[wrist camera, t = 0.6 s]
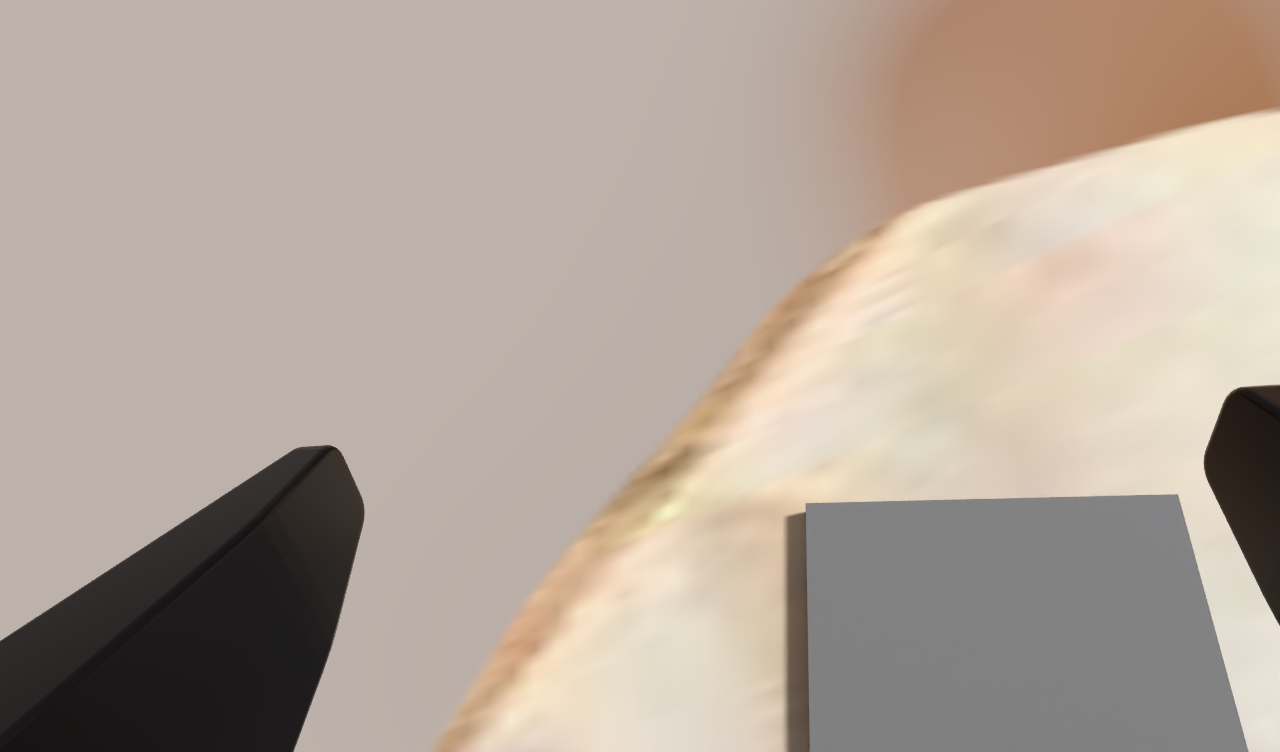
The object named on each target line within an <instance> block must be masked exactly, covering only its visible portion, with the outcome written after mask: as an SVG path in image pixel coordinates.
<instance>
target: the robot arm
mask: <svg viewBox="0 0 1280 752" xmlns="http://www.w3.org/2000/svg"><path fill="white" fill-rule="evenodd" d="M1204 470H1205V474H1206V477H1207V480H1208V482H1209V485H1210V487H1211V489H1212V491H1213V493H1214V495H1215V497H1216V499H1217V501H1218V503H1219V505H1220V507H1221V509H1222V511H1223V513H1224V515H1225V517H1226V519H1227V522H1228V524H1229V526H1230V528H1231V530H1232V532H1233V534H1234V536H1235V538H1236V540H1237V542H1238V544H1239V546H1240V548H1241V550H1242V552H1243V554H1244V557H1245V559H1246V561H1247V563H1248V565H1249V567H1250V569H1251V571H1252V573H1253V575H1254V577H1255V579H1256V581H1257V583H1258V585H1259V587H1260V589H1261V592H1262V594H1263V596H1264V597H1265V599H1266V601H1267V603H1268V605H1269V607H1270V609H1271V611H1272V612H1273V614H1274V616H1275V618H1276V620H1277V622H1278V623H1279V625H1280V385H1264V386H1249V387H1240V388H1237V389H1235V390H1233V391H1232V392H1231V393H1230V394H1229V395H1228V396H1227V397H1226V399H1225V401H1224V403H1223V406H1222V408H1221V411H1220V414H1219V416H1218V419H1217V422H1216V424H1215V427H1214V430H1213V432H1212V435H1211V438H1210V440H1209V443H1208V446H1207V448H1206V451H1205V455H1204ZM363 522H364V504H363V500H362V497H361V495H360V492H359V490H358V488H357V486H356V484H355V481H354V479H353V477H352V475H351V472H350V470H349V468H348V466H347V464H346V462H345V460H344V457H343V456H342V453H341V452H340V451H339V450H338V449H337V448H336V447H333V446H329V445H325V446H309V447H300V448H296V449H294V450H292V451H291V452H289V453H288V454H286V455H285V456H283V457H282V458H280V459H279V460H277V461H275V462H274V463H272V464H271V465H269V466H268V467H266V468H265V469H263V470H262V471H260V472H259V473H257V474H255V475H254V476H252V477H251V478H249V479H248V480H246V481H245V482H243V483H242V484H240V485H239V486H237V487H236V488H234V489H232V490H231V491H230V492H228V493H227V494H225V495H223V496H222V497H220V498H219V499H217V500H216V501H214V502H213V503H211V504H210V505H208V506H207V507H205V508H204V509H202V510H200V511H199V512H197V513H196V514H194V515H193V516H191V517H190V518H188V519H187V520H185V521H184V522H182V523H181V524H179V525H177V526H176V527H174V528H173V529H171V530H170V531H168V532H167V533H165V534H164V535H162V536H160V537H159V538H158V539H156V540H154V541H153V542H151V543H150V544H148V545H147V546H145V547H144V548H142V549H141V550H139V551H138V552H136V553H134V554H133V555H131V556H130V557H128V558H127V559H125V560H124V561H122V562H121V563H119V564H118V565H116V566H114V567H113V568H111V569H110V570H108V571H107V572H105V573H104V574H102V575H101V576H99V577H98V578H96V579H95V580H93V581H91V582H90V583H88V584H87V585H85V586H84V587H82V588H81V589H79V590H78V591H76V592H75V593H73V594H72V595H70V596H69V597H67V598H66V599H64V600H62V601H61V602H59V603H58V604H56V605H55V606H53V607H52V608H50V609H49V610H47V611H46V612H44V613H43V614H41V615H39V616H38V617H36V618H35V619H33V620H32V621H30V622H29V623H27V624H26V625H24V626H23V627H21V628H19V629H18V630H16V631H15V632H13V633H12V634H10V635H9V636H7V637H6V638H4V639H3V640H1V641H0V752H294V749H295V746H296V744H297V741H298V738H299V735H300V733H301V730H302V727H303V724H304V722H305V719H306V716H307V714H308V711H309V708H310V705H311V703H312V700H313V697H314V694H315V692H316V689H317V687H318V684H319V681H320V678H321V676H322V673H323V670H324V667H325V664H326V662H327V659H328V656H329V653H330V650H331V647H332V644H333V640H334V637H335V633H336V629H337V626H338V622H339V618H340V614H341V610H342V606H343V602H344V598H345V594H346V590H347V586H348V582H349V578H350V575H351V571H352V566H353V563H354V559H355V555H356V550H357V547H358V542H359V539H360V534H361V531H362V527H363Z"/></svg>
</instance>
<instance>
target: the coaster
mask: <svg viewBox="0 0 1280 752" xmlns="http://www.w3.org/2000/svg"><path fill="white" fill-rule="evenodd" d="M806 554H807V615H808V675H809V735H810V752H1248V749H1247V745H1246V741H1245V738H1244V734H1243V730H1242V727H1241V723H1240V719H1239V716H1238V712H1237V709H1236V705H1235V701H1234V698H1233V694H1232V690H1231V687H1230V683H1229V679H1228V676H1227V672H1226V668H1225V665H1224V661H1223V657H1222V654H1221V650H1220V646H1219V643H1218V639H1217V636H1216V632H1215V628H1214V625H1213V621H1212V617H1211V614H1210V610H1209V606H1208V603H1207V599H1206V595H1205V592H1204V588H1203V584H1202V581H1201V577H1200V574H1199V570H1198V566H1197V563H1196V559H1195V555H1194V552H1193V548H1192V544H1191V541H1190V537H1189V533H1188V530H1187V526H1186V522H1185V519H1184V515H1183V511H1182V508H1181V504H1180V501H1179V497H1178V494H1176V495H1135V496H1093V497H1051V498H1010V499H968V500H926V501H885V502H843V503H806Z"/></svg>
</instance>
